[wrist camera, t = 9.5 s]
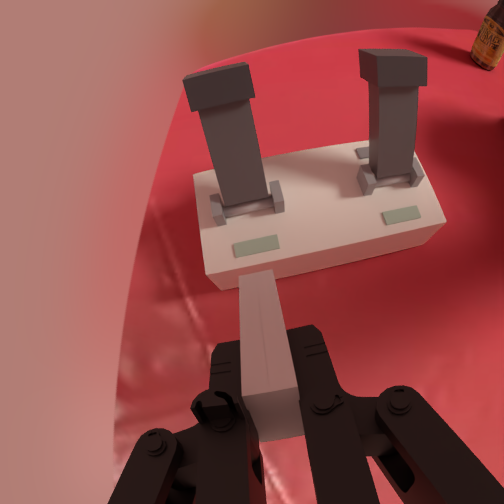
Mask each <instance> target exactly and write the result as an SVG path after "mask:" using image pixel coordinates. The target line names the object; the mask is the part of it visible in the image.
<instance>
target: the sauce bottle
mask: <svg viewBox="0 0 504 504" xmlns="http://www.w3.org/2000/svg"><path fill="white" fill-rule="evenodd" d="M503 52H504V0H499V1H498V4H497V5H495V6H494V7H493V8H491V9H490V11H489V12H488V14H487V15H486V16H485V18H484V21H483V23H482V26H481V28H480V30H479V32H478V35H477V37H476V39H475V41H474V44H473V46H472V50H471V53H470V56H471V58H472V59H473V60H474V61H475V62H476V63H477V64H479V65H480V66H481V67H482V68H484V69H487V70H493V69H494V68H495V67H496V66H497V64H498V62H499V60H500V58H501V56H502V54H503Z"/></svg>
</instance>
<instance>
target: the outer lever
mask: <svg viewBox="0 0 504 504" xmlns="http://www.w3.org/2000/svg"><path fill="white" fill-rule="evenodd" d="M183 84H184V88H185V91H186V95H187V98H188V102H189V106H190V109H191V112H194V111H198V112H199V116H200V119H201V123H202V127H203V130H204V134H205V137H206V141H207V145H208V148H209V152H210V155H211V159H212V163H213V166H214V170H215V173H216V177H217V180H218V184H219V187H220V191H221V194H222V198H223V201H224V205H225V206H230V205H234V204H238V203H243V202H247V201H252V200H257V199H261V198H266V197H269V195H268V190H267V185H266V179H265V174H264V169H263V164H262V159H261V154H260V149H259V144H258V139H257V134H256V129H255V125H254V120H253V115H252V110H251V106H250V101H249V99H250V98H255V93H254V88H253V84H252V79H251V74H250V70H249V65H248V64H247V63H246V62H241V63H236V64H231V65H227V66H222V67H218V68H213V69H209V70H205V71H201V72H197V73H194V74H190V75H187V76H186V77H185V78H184V79H183Z"/></svg>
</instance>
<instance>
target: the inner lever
mask: <svg viewBox="0 0 504 504" xmlns="http://www.w3.org/2000/svg"><path fill="white" fill-rule="evenodd" d="M358 50H359V63H360V77H361V78H363V79H365V80H366V81H368V85H369V166H370V168H371V170H372V172H373V174H374V175H375V176H376V177H377V178H380V177H386V176H392V175H398V174H405V173H411V172H412V166H413V157H414V148H415V138H416V126H417V111H418V87H419V86H427V57H425V56H423V55H420V54H417V53H415V52H412V51H409V50H406V49H358Z"/></svg>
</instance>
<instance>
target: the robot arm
mask: <svg viewBox="0 0 504 504" xmlns="http://www.w3.org/2000/svg"><path fill="white" fill-rule="evenodd" d="M239 313H240V340H236V341H230V342H224V343H218V344H217V346H216V347H215V349H214V351H213V352H212V355H211V368H210V382H209V389H208V390H205V391H204V392H202V393H200V394H199V395H198V396H197V397H196V398H195V399H194V400H193V402H192V405H191V408H190V409H191V410H192V412H193V414H194V415H195V417H196V419H197V420H198V422H199V423H197V424H196V425H195V426H193V427H191V428H188V429H186V430H183V431H180V432H177V433H174V434H172V433H171V432H170V431H168V430H166V429H163V428H155V429H152V430H149V431H147V432H146V433H144V434H143V435H141V437H140V438H139V439H138V441H137V443H136V445H135V447H134V449H133V451H132V453H131V455H130V457H129V459H128V461H127V463H126V466H125V468H124V470H123V472H122V474H121V476H120V478H119V480H118V482H117V485H116V487H115V489H114V491H113V493H112V495H111V497H110V500H109V502H108V504H267V503H266V491H265V480H264V468H263V457H262V454H261V451H260V449H259V440H260V442H267V441H274V440H280V439H286V438H291V437H296V436H302V435H305V439H306V444H307V450H308V456H309V461H310V466H311V472H312V477H313V483H314V488H315V494H316V500H317V504H380V502H379V499H378V495H377V492H376V488H375V485H374V482H373V478H372V475H371V471H370V468H369V465H368V462H367V458H366V456H372V458H373V459H374V461H375V462H376V464H377V465H378V467H379V468H380V469H381V471H382V472H383V474H384V475H385V477H386V478H387V480H388V481H389V483H390V484H391V486H392V487H393V488H394V490H395V491H396V493H397V494H398V496H399V497H400V499H401V500H402V501H403V503H404V504H504V488H503V487H502V486H501V484H500V483H499V482H498V481H497V480H496V479H495V477H494V476H493V475H492V474H491V473H490V472H489V471H488V469H487V468H486V467H485V466H484V465H483V464H482V463H481V461H480V460H479V459H478V458H477V457H476V456H475V455H474V453H473V452H472V451H471V450H470V449H469V448H468V447H467V446H466V444H465V443H464V442H463V441H462V440H461V439H460V438H459V437H458V436H457V434H456V433H455V432H454V431H453V430H452V429H451V428H450V427H449V426H448V424H447V423H446V422H445V421H444V420H443V419H442V418H441V417H440V416H439V415H438V413H437V412H436V411H435V410H434V409H433V408H432V407H431V406H430V405H429V404H428V403H427V401H426V400H425V399H424V398H423V397H422V396H421V395H420V394H419V393H418V392H417V391H416V390H414V389H413V388H411V387H407V386H404V385H403V386H393V387H390V388H388V389H386V390H385V391H384V392H382V393H381V394H380V396H379V397H356V396H353V395H350V394H349V393H347V392H345V391H344V390H343V389H342V388H341V386H340V385H339V383H338V380H337V377H336V374H335V371H334V368H333V365H332V362H331V359H330V356H329V353H328V350H327V347H326V345H325V342H324V339H323V336H322V333H321V332H320V331H319V330H318V329H317V328H316V327H315V326H314V325H313V324H312V325H308V326H303V327H299V328H294V329H289V330H286V328H285V323H284V319H283V314H282V310H281V305H280V300H279V296H278V291H277V287H276V282H275V278H274V273H273V269H271V270H266V271H261V272H257V273H252V274H247V275H242V276H239Z"/></svg>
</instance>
